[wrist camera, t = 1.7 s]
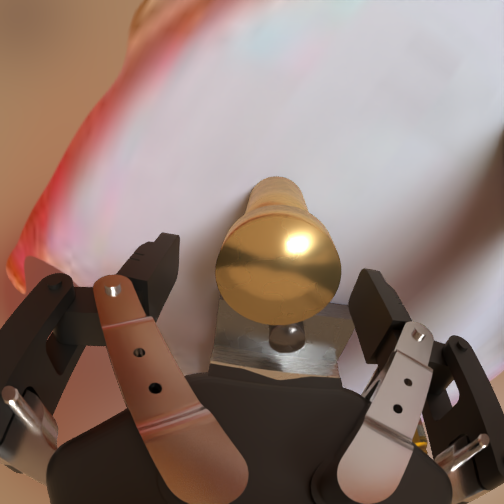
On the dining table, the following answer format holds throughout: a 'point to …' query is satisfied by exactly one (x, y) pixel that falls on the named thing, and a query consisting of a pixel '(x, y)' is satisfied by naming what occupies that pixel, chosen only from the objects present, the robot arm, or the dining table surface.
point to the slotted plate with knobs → (283, 343)
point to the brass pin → (277, 258)
